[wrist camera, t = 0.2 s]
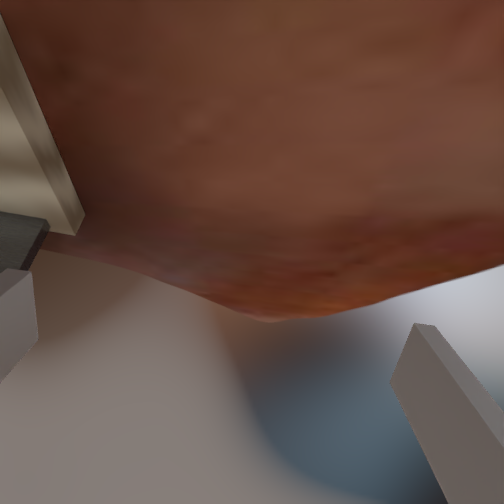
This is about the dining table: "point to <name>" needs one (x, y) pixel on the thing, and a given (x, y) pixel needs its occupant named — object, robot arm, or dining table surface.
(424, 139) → the dining table surface
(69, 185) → the shelf board
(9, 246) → the bookend
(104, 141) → the dining table surface
